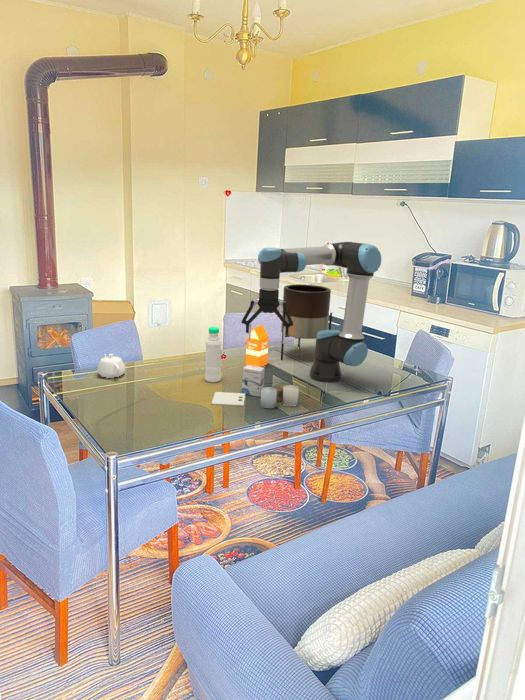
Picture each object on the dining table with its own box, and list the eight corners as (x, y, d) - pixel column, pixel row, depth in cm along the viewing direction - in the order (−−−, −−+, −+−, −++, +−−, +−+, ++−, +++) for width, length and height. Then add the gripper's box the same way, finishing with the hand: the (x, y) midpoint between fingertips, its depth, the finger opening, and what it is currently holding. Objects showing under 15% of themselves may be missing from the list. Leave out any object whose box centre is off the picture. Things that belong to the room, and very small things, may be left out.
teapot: (91, 370, 241) (90, 350, 238) (117, 367, 248) (116, 346, 245) (104, 383, 225) (103, 361, 222) (132, 379, 232) (131, 358, 229)
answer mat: (245, 394, 220) (245, 393, 220) (243, 406, 208) (243, 404, 207) (215, 393, 220) (215, 391, 220) (211, 404, 208) (211, 403, 208)
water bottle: (218, 383, 232) (219, 330, 225) (203, 381, 233) (203, 328, 226) (222, 378, 238) (223, 326, 231) (207, 377, 240) (208, 325, 233)
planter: (275, 348, 290) (278, 282, 280) (319, 349, 293) (324, 284, 283) (282, 363, 265) (286, 291, 254) (330, 363, 268) (336, 292, 257)
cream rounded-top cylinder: (297, 401, 216) (298, 385, 214) (297, 407, 210) (298, 391, 208) (282, 400, 216) (283, 384, 214) (282, 406, 210) (283, 390, 208)
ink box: (241, 393, 221) (242, 368, 218) (245, 390, 226) (246, 364, 222) (259, 397, 218) (261, 371, 215) (263, 393, 223) (265, 367, 220)
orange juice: (267, 363, 263) (269, 326, 257) (258, 368, 256) (259, 329, 250) (254, 360, 267) (256, 323, 261) (245, 364, 260) (246, 326, 254)
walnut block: (282, 396, 221) (282, 385, 219) (287, 400, 216) (288, 389, 215) (271, 397, 219) (272, 386, 217) (277, 402, 214) (277, 390, 213)
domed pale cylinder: (275, 403, 212) (276, 387, 210) (275, 409, 206) (276, 393, 204) (260, 402, 213) (261, 386, 211) (260, 408, 206) (260, 392, 204)
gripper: (301, 288, 200) (297, 341, 206) (237, 285, 201) (235, 337, 207) (302, 292, 193) (298, 346, 199) (236, 288, 193) (234, 342, 199)
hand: (266, 341), depth 203 cm, fingers open, 13 cm apart
